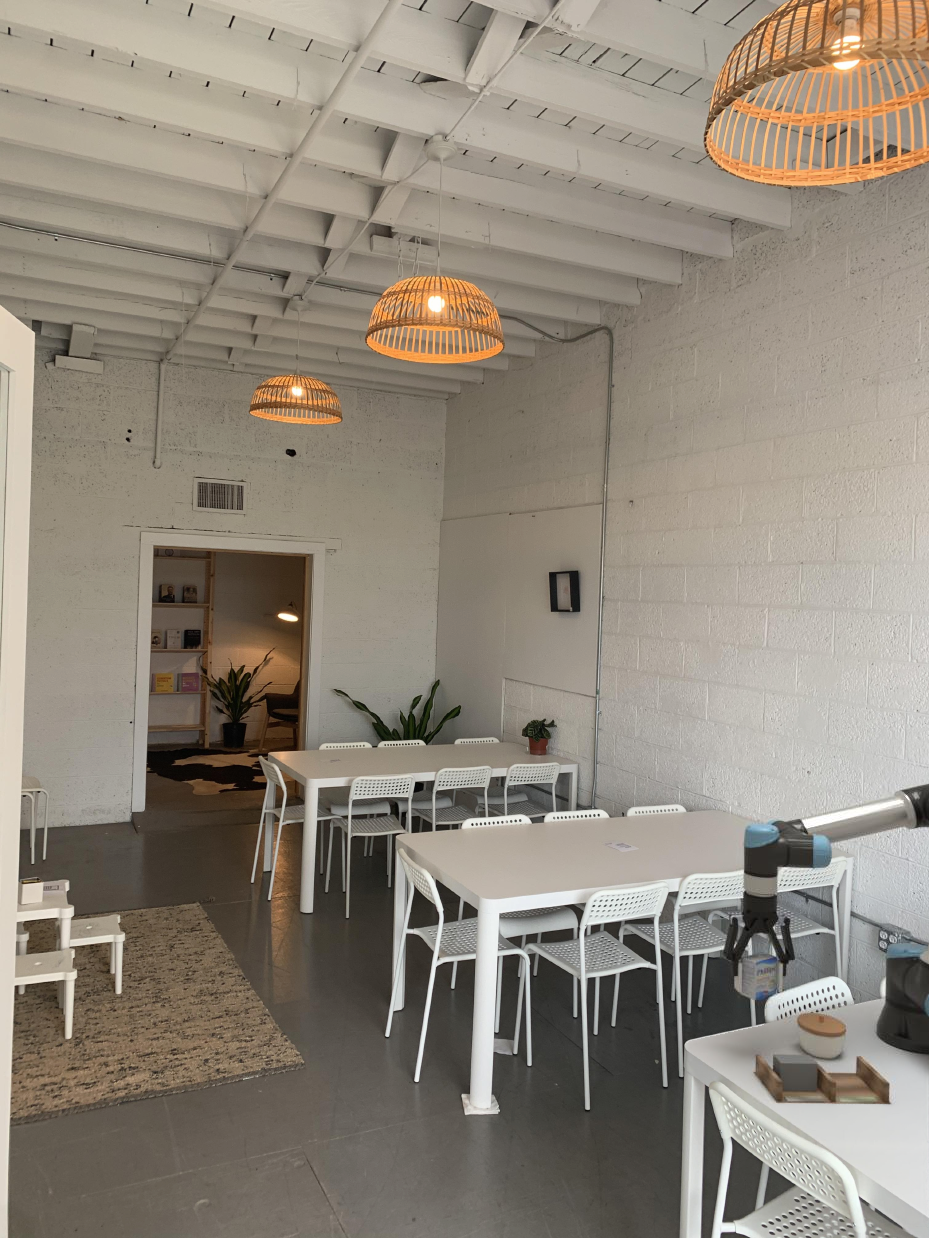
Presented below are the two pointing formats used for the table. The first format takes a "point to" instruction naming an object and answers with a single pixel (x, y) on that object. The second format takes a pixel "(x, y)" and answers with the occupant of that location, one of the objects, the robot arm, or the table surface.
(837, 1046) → the lidded jar
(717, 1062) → the table surface
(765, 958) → the medicine box
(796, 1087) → the rubber block
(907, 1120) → the table surface
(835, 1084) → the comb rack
